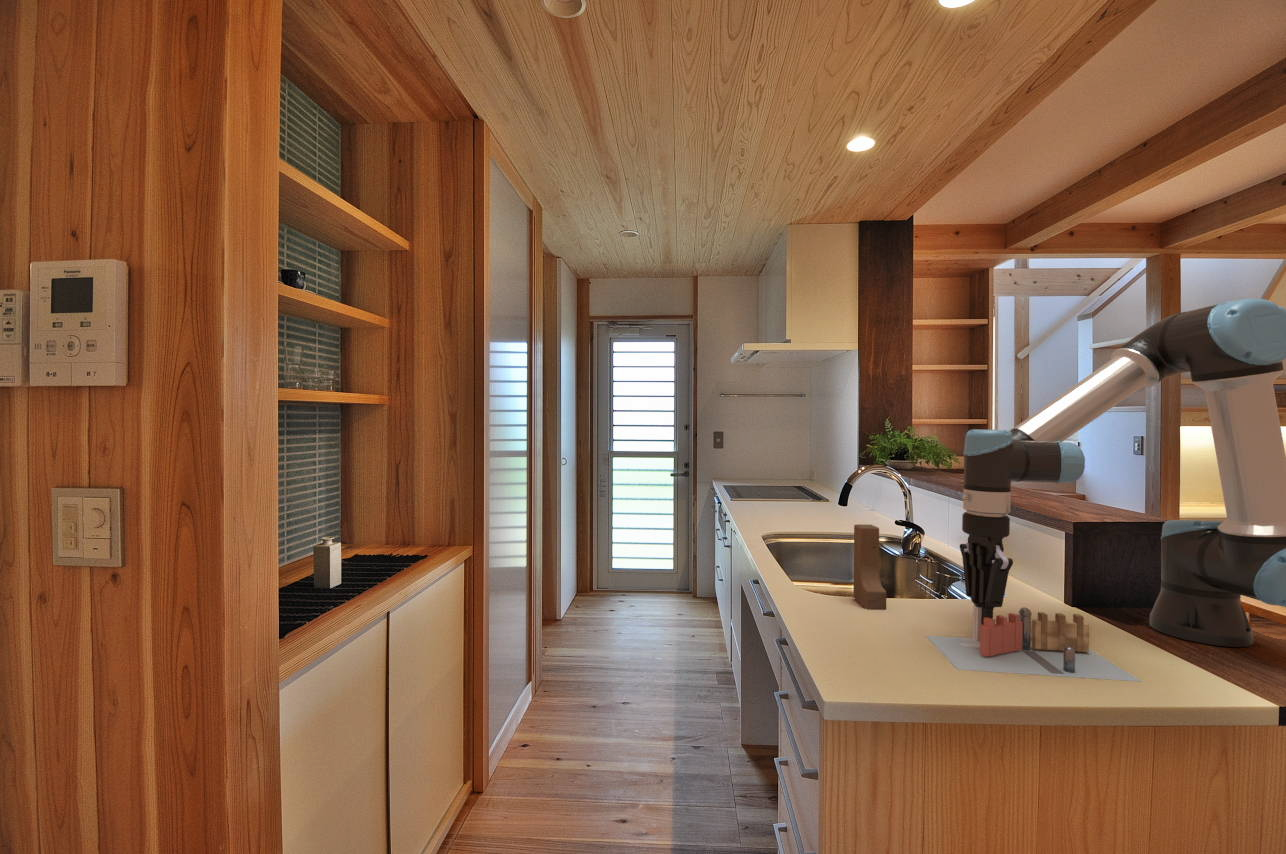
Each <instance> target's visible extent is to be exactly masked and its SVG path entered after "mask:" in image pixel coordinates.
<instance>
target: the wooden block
mask: <svg viewBox="0 0 1286 854" xmlns="http://www.w3.org/2000/svg"><path fill="white" fill-rule="evenodd" d="M852 598H853V601H855V602H856V603H858V605H860V606H861V607H862V608H864V610H865V609H866V610H867V611H868V610H869V611H870V610H871V611H873V610H875V611H880V610H881V611H882V610H883V611H885V610H887V591H886V589H885V588H884V587H883V585H882V583H881V579H880V527H878V526H876V525H873V524H857V523H856V524H854V525H853V597H852ZM854 598H855V599H854Z"/></svg>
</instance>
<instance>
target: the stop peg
mask: <svg viewBox="0 0 1286 854" xmlns="http://www.w3.org/2000/svg"><path fill="white" fill-rule="evenodd" d="M1063 670H1064V671H1066V672H1069V673H1075V647H1072V646H1067V645H1065V646H1064V654H1063Z"/></svg>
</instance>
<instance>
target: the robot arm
mask: <svg viewBox="0 0 1286 854" xmlns="http://www.w3.org/2000/svg"><path fill="white" fill-rule="evenodd" d="M1285 359H1286V308H1285V307H1283V306H1282V305H1278V304H1277V303H1275V301H1271V300H1268V299H1263V298H1246V299H1238V300H1237V299H1236V300H1229V301H1226V302H1221V303H1219V304H1212V305H1209V306H1204V307H1201V308H1197V309H1193V310H1188V311H1182V312H1178V313H1175V314H1172V315H1170V316H1167V317H1165V318H1163V319H1161V320H1159V321H1158V322H1156V323H1154V324H1152V325H1151V326H1149V327H1148V328H1146V329H1144V330H1142V331H1141V332H1140V333H1138V334H1137V335H1136V336H1134V337H1133V338H1131V339H1130V340H1128V341H1127V342H1126V343H1124V344H1122V345H1121V346H1120V347H1118V348H1117V349H1115V350H1114V351H1113V352H1112V353H1111V354H1110V360H1109V361H1107V362H1106V363H1104V364H1103V365H1102V366H1100V367H1099V368H1097V369H1096V370H1095V371H1093V372H1092V373H1090V374H1089V375H1088V376H1086V377H1084V378H1083V379H1081V380H1080V381H1078V382H1077V383H1076V384H1075V385H1073V386H1072V387H1070V388H1069V389H1067V390H1066V391H1065V392H1063V393H1061V395H1058V396H1057V397H1056V398H1055V399H1053V400H1052V401H1050V402H1049V403H1047V404H1046V405H1045V406H1043V407H1041V408H1040V409H1039V410H1037V411H1036V412H1035V413H1033V414H1031V416H1029V417H1028V418H1026V419H1025V420H1023V421H1022V422H1020V423H1019V424H1017V425H1016V426H1014V427H1013V428H1011V429H1009V430H1007V429H977V428H976V429H970V430H968V431H967V432H966V433H965V439H964V447H963V453H962V454H963V492H962V493H963V494H962V496H961V498H962V499H963V501H962V502H963V504H962V508H963V510H965V512H963V513H962V516H961V517H962V519H961V520H962V522H961V523H962V524H961V530H962V532H963V533H965V534H967V535H968V538H967V542H966V543H960V544H959V550H960V553H961V556H962V565H963V566H962V568H963V576H964V577H963V578H964V586H965V594H966V597H969V598H970V600H971V603H973V624H972V625H973V627H972V638H973V639H974V640H975V641H977V642H980V626H984V618H985V617H989V618H992V619H994V608H1002V607H1003V603H1004V597H1005V593H1006V588H1007V585H1008V584H1007V583H1008V579H1009V573H1010V570H1011V568H1012V566H1013V564H1014V561H1013V558H1011V557H1006V555H1005V554H1004V550H1005V549H1004V544H1003V539H1004V538H1007V537H1009V536H1010V531H1011V530H1010V527H1011V523H1010V521H1011V518H1010V516H1008V514H1010V513H1011V496H1012V493H1011V488H1012V487H1011V486H1012V482H1019V483H1020V482H1026V483H1027V482H1029V483H1050V484H1051V483H1053V484H1054V483H1055V484H1057V485H1058V484H1060V483H1063V484H1064V483H1066V484H1067V483H1074V482H1077V481H1078V480H1079V479H1080V478H1081V477H1082V476H1083V474H1084V472H1085V468H1086V457H1085V453H1084V452H1083V450H1082V448H1081V447H1080V446H1079V445H1077V444H1076V443H1075V442H1069V441H1065V440H1067V439H1069V438H1070V437H1071V436H1073V435H1074V434H1076V433H1077V432H1079V431H1080V430H1082V429H1083V428H1085V427H1086V426H1087V425H1089V424H1090V423H1092V422H1093V421H1095V420H1096V419H1098V418H1099V417H1100V416H1102V415H1104V414H1105V413H1106V412H1107V411H1109V410H1111V409H1112V408H1114V407H1115V406H1116V405H1118V404H1119V403H1121V402H1123V401H1124V400H1125V399H1127V398H1128V397H1130V396H1131V395H1133V394H1134V393H1135V392H1137V391H1138V390H1141V388H1144V389H1145V388H1146V389H1147V388H1152V387H1155V385H1157V384H1158V383H1160V382H1161V381H1163V380H1165V379H1167V378H1170V377H1174V376H1176V375H1181V374H1185V373H1190V378H1191V383H1192V384H1193V385H1195V386H1197V387H1198V388H1200V389H1202V390H1203V391H1204V392H1205V398H1206V404H1207V409H1208V416H1209V422H1210V428H1211V434H1212V439H1213V444H1214V451H1215V456H1216V462H1217V468H1218V473H1219V478H1220V486H1221V490H1222V491H1221V492H1222V496H1223V502H1224V507H1225V513H1226V519H1225V520H1201V519H1199V520H1197V519H1196V520H1193V519H1169V520H1167V521H1165V522H1164V523H1163V524H1162V528H1161V536H1160V561H1161V562H1160V570H1161V571H1160V576H1161V577H1160V578H1161V579H1160V580H1161V581H1160V590H1159V591H1160V592H1159V594H1158V597H1157V598H1156V600H1155V602H1154V605H1153V608H1152V610H1151V611H1150V613H1149V626H1150V627H1151V628H1152V629H1153V630H1155V631H1157V632H1159V633H1163V634H1165V635H1166V636H1167V635H1168V636H1171V637H1173V638H1174V637H1175V638H1178V639H1181V640H1186V641H1189V642H1195V643H1199V644H1205V645H1211V646H1217V647H1218V646H1220V647H1226V648H1227V647H1229V648H1230V647H1231V648H1244V647H1251V646H1252V645H1253V644H1254V631H1253V629H1252V627H1251V624H1250V622H1249V619H1248V617H1247V614H1246V612H1245V609H1244V606H1243V605H1242V599H1241V598H1242V597H1241V596H1243V597H1247V598H1250V599H1254V600H1257V601H1260V602H1262V603H1264V604H1266V605H1271V606H1279V607H1283V608H1286V451H1285V445H1284V439H1283V434H1282V427H1281V422H1280V416H1279V411H1278V404H1277V399H1276V392H1275V387H1274V381H1275V380H1276V379H1278V378H1279V377H1280V376H1281V375H1282V374H1283V373H1284V372H1285V371H1284V365H1283V363H1284V362H1283V361H1284V360H1285Z"/></svg>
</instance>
